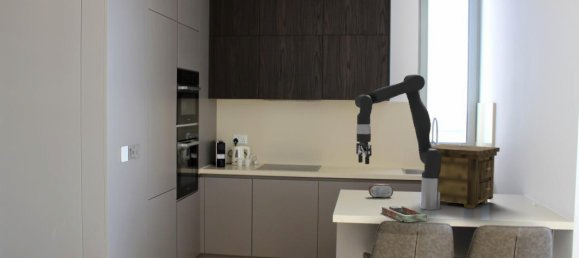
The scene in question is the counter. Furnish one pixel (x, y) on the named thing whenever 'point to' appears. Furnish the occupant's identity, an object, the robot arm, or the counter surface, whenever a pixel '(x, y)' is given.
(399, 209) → the block
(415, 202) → the counter surface
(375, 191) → the tin
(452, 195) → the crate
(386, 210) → the track
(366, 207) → the counter surface
